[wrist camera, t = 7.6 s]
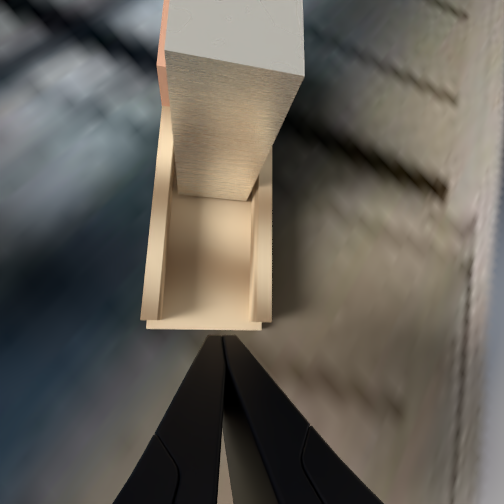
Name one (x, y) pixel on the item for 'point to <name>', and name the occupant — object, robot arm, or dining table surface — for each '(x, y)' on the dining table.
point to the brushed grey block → (230, 88)
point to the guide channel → (207, 252)
